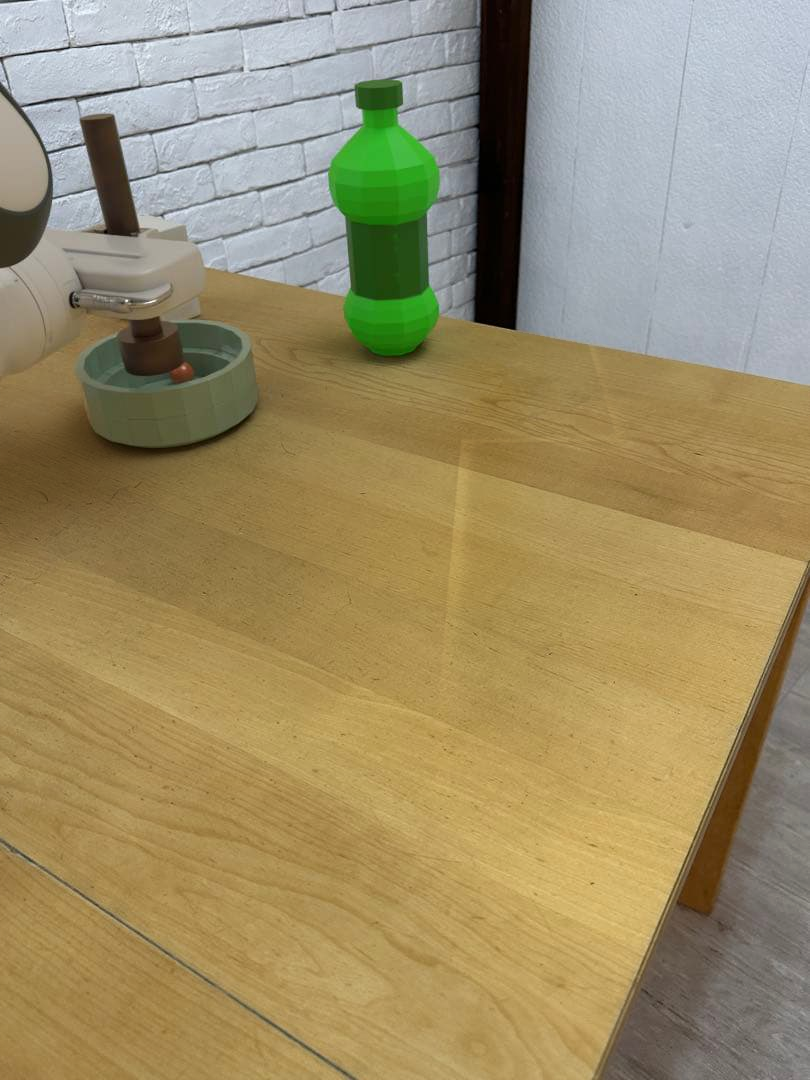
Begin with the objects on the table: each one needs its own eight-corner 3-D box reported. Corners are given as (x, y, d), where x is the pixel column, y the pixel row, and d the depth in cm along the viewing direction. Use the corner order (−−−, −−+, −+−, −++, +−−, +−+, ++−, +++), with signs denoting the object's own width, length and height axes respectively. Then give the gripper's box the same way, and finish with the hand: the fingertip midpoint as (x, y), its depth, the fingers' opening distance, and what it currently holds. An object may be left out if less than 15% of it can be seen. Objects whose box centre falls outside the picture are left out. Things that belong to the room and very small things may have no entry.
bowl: (64, 453, 80) (46, 392, 76) (125, 375, 92) (111, 319, 89) (237, 455, 78) (226, 392, 75) (275, 375, 91) (267, 318, 87)
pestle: (115, 376, 78) (49, 124, 66) (137, 353, 82) (78, 112, 71) (173, 376, 77) (116, 121, 66) (192, 352, 81) (141, 108, 70)
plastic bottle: (347, 328, 100) (325, 76, 85) (443, 325, 99) (437, 71, 85) (339, 367, 92) (313, 96, 77) (443, 364, 91) (436, 91, 76)
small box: (123, 314, 106) (101, 223, 100) (163, 300, 109) (144, 211, 103) (162, 330, 102) (142, 236, 95) (203, 315, 105) (186, 223, 99)
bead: (174, 393, 88) (161, 376, 86) (180, 374, 89) (167, 358, 88) (195, 389, 87) (182, 372, 85) (201, 371, 89) (189, 354, 87)
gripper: (134, 264, 59) (238, 204, 69) (-108, 240, 65) (21, 188, 75) (153, 355, 62) (249, 285, 73) (-77, 323, 69) (41, 263, 79)
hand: (131, 235), depth 74 cm, fingers closed on pestle, 3 cm apart
